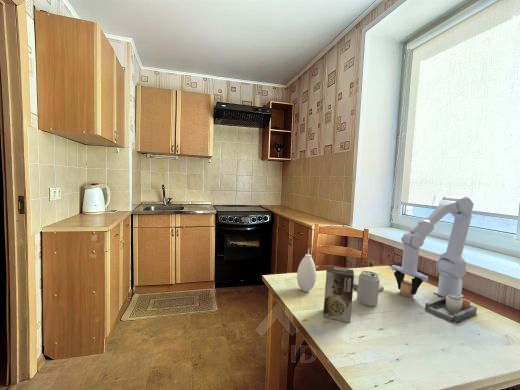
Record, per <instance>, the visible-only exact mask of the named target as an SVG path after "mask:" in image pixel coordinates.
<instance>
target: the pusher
mask: <svg viewBox="0 0 520 390" xmlns="http://www.w3.org/2000/svg"><path fill="white" fill-rule="evenodd" d="M448 294H450V293H447V295H448ZM461 299H462V300H463V302H462V310H461V311H463V310H465V309H468V308H470V305H471V300H468V299H466V298H463V297H461Z"/></svg>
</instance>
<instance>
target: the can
mask: <svg viewBox="0 0 520 390" xmlns="http://www.w3.org/2000/svg"><path fill="white" fill-rule="evenodd" d="M358 276H359V282H358V290H357V291H356V292H357V293H356V300H357V301H358V303H359V304H360V305H362V306H365V307H371V308H372V307H375V306H376V305H378V301H379V293H380V292H379V285H380V282H381V281H380V280H381V278H379V274H378V273H377V272H374V271H371V270H361V271H360V273H359V275H358Z"/></svg>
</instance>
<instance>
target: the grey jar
mask: <svg viewBox="0 0 520 390" xmlns="http://www.w3.org/2000/svg"><path fill="white" fill-rule="evenodd" d="M461 298H462V297H459V296H457V295H453V294H448V295H447V296H446V304H445V305H444V309H445V311H446V312H449V313H452V314H456V313H459V312H461V311H462V302H463V300H462V299H461Z"/></svg>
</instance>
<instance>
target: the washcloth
mask: <svg viewBox="0 0 520 390" xmlns="http://www.w3.org/2000/svg"><path fill="white" fill-rule="evenodd" d="M358 282H359V275H357V274H355V273H354V283H353V290H356V291H358ZM384 289H385V287H384V286H383V285H381V284H379V293H380V292H382V291H384Z"/></svg>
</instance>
